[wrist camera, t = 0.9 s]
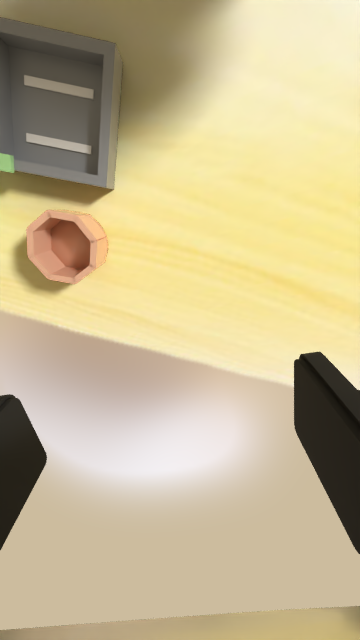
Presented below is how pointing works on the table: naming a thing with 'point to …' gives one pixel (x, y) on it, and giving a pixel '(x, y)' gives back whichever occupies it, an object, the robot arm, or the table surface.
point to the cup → (66, 245)
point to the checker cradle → (58, 104)
